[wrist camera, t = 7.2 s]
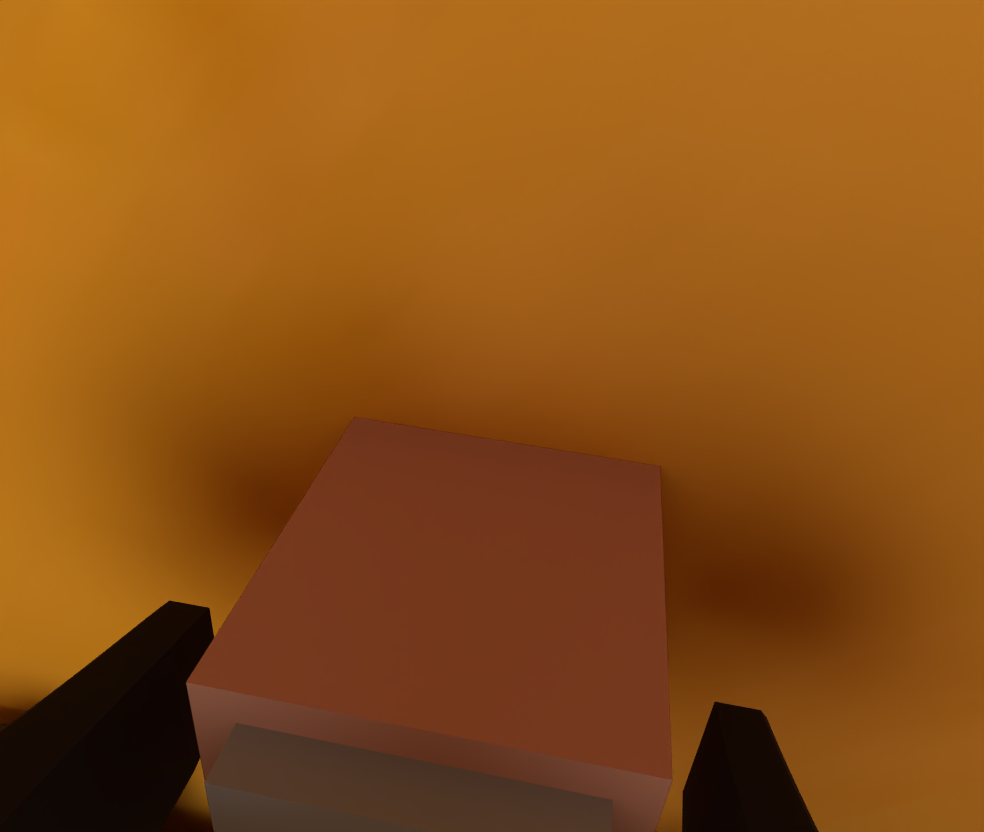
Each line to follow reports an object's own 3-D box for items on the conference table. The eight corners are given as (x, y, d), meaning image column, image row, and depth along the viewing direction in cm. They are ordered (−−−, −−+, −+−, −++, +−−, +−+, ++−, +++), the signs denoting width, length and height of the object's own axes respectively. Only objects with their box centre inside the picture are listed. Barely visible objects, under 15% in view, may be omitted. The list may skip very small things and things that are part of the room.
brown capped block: (660, 464, 12) (674, 851, 7) (609, 677, 15) (591, 1076, 9) (354, 415, 13) (148, 741, 7) (358, 629, 15) (208, 984, 10)
